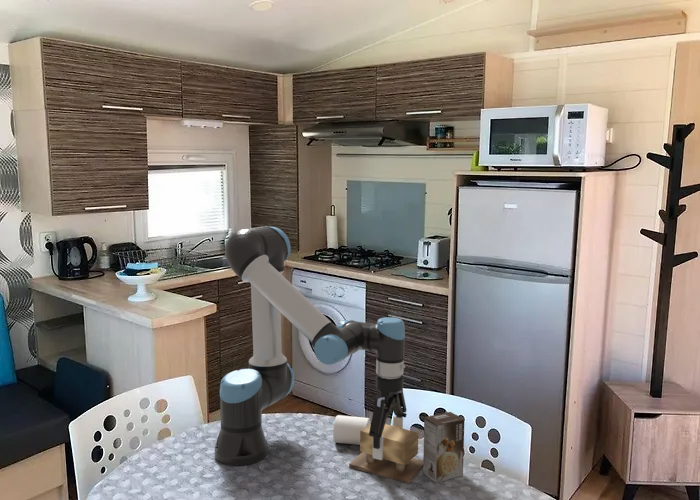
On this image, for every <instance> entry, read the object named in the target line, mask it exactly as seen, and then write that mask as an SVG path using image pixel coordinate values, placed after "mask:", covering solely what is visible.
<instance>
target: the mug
mask: <svg viewBox="0 0 700 500" xmlns="http://www.w3.org/2000/svg"><path fill="white" fill-rule="evenodd" d="M370 424H371V418H370V417H362V416H360V417H359V416H352V415H351V416H350V415H341V414H338V415H336V416H335V420H334V423H333V430H332V431H333V434H332V435H333V441H334V442H333V443H339V444H348V445H357V446H360V430H362V429H364V428H365V427H367V426H368V425H370Z"/></svg>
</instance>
